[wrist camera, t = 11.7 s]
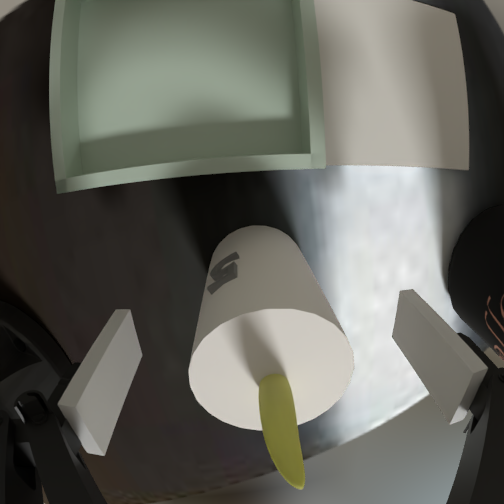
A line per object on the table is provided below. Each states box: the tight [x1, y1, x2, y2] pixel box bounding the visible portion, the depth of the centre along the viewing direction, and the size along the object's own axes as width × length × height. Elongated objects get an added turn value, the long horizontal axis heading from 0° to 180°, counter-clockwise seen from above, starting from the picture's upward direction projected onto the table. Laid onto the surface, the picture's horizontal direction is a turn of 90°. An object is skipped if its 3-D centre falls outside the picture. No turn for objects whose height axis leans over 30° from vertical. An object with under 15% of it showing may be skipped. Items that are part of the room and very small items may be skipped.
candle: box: [189, 225, 354, 489], centre depth 14 cm, size 6×6×15 cm
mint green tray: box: [49, 0, 326, 194], centre depth 14 cm, size 13×12×4 cm
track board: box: [314, 0, 469, 170], centre depth 17 cm, size 26×13×1 cm, turn 93°
